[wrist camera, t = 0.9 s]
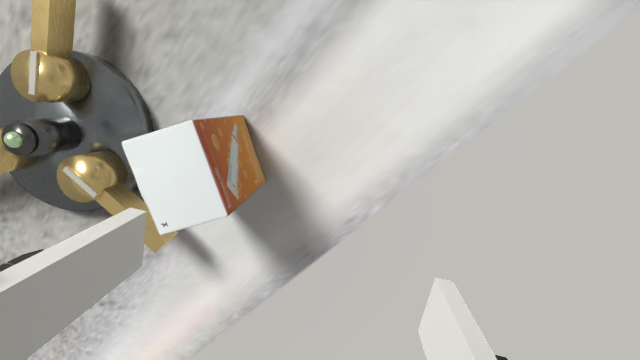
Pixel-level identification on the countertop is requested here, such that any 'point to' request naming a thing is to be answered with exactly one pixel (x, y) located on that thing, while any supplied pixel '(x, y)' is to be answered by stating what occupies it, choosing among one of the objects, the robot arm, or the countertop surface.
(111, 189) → the knob
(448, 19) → the countertop surface
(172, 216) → the small box
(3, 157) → the knob
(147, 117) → the tribrach plate
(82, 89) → the knob
